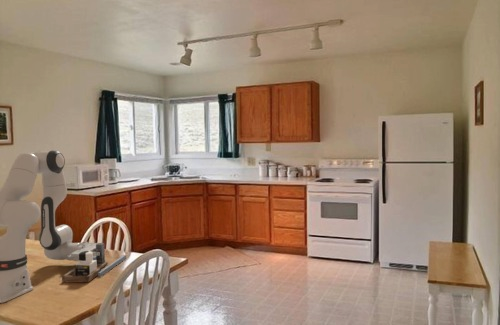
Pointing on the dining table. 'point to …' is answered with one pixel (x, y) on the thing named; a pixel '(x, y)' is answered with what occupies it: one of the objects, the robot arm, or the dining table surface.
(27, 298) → the dining table surface
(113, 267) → the guide rails
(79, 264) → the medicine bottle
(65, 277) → the brown tray fixture
